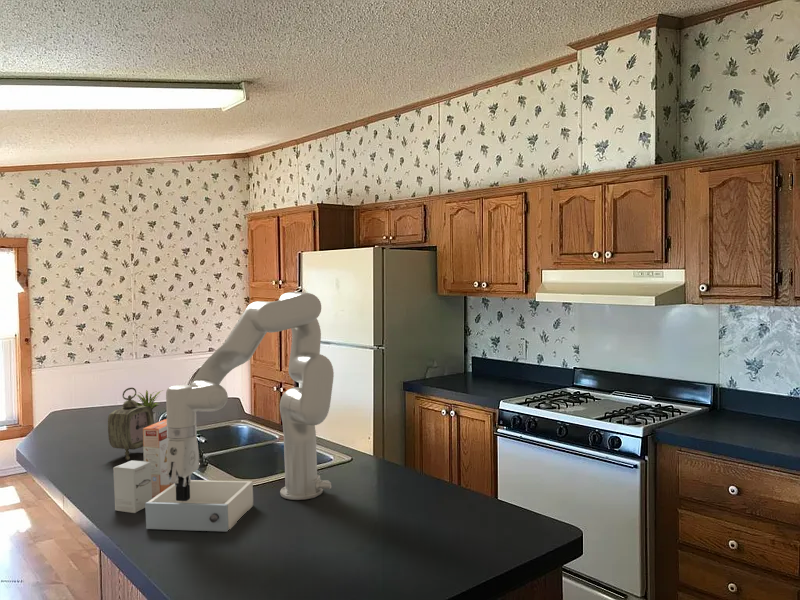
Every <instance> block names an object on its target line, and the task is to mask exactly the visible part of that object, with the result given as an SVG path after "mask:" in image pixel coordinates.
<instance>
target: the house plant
mask: <svg viewBox="0 0 800 600" xmlns="http://www.w3.org/2000/svg"><path fill="white" fill-rule="evenodd" d="M163 391H165V390H160V391H158V392H157V391H154V392H152V393H150V394H149V391H148V390H147V389H146V391H145V396H144V395H143V394H142V393H141V392H139V394H140V395H139V394H137V393H136V396H135V397H134V399H136V398H137V397H138V398H139V399H140V400H139V401H140V403H139V402H137V401H136V403H137V404H138V406H149V407H151V408H152V412H153V419H154V424H155V423H156V416H157V411H153V410H154V409H155V407H158V406H160V404H158V402H155V401H156V400H157V397H158V396H159V395H160V394H161V392H163ZM155 393H156V394H155ZM154 394H155V395H154ZM153 395H154V396H153ZM152 396H153V397H152Z"/></svg>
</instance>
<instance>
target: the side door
mask: <svg viewBox="0 0 800 600" xmlns="http://www.w3.org/2000/svg"><path fill="white" fill-rule="evenodd" d="M144 509H145V526H146V527H145V529H146V530H164V531H165V530H169V531H197V532H199V531H201V532H206V531H207V532H229V531H228V508H227V504H205V503H167V502H146V503H145V508H144Z"/></svg>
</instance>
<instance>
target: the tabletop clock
mask: <svg viewBox="0 0 800 600" xmlns="http://www.w3.org/2000/svg"><path fill="white" fill-rule="evenodd" d="M130 390H133V391H134V394H133V395H127V396H128V397H125V393H127V392H128V391H130ZM136 394H137V389H136V388H134V387H128V388H125V390H124V391H122V398H123V400H126V401H124V402H123V404H122V407H120V408H118V409H115V410H112V412H110V413H108V417H107V434H108V435H107V436H108V442H109V444H110V446H111V447H112V448H113V449H119V450H120V449H121V450H123V449H124V455H125V457H124V458H125V460H126V461H130V458H131V456H130V453H131V452H130V451H129V450H137V449H141V448H143V428H145V427H148V426H150V425H152V424H154V419H153V412H152V411H153V409H152V408H151V407H149V406H143V405H142V406H138V404H137V403H136V402H137V401H136V400H134V399H135V397H137V395H136Z"/></svg>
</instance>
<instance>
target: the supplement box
mask: <svg viewBox="0 0 800 600" xmlns="http://www.w3.org/2000/svg"><path fill="white" fill-rule="evenodd" d="M112 469H113V490H114V491H113V493H114V510H115V511H118V512H123V513H124V512H125V513H131V514H136V513H138V512H139V511H142V510H143V509H145V503H146V502H148V501H150V500H151V499H153V497H152V481H151V462H145V461H144V460H128V461H127V462H124V463H122V464H119V465H116V466H114V467H113V468H112Z"/></svg>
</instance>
